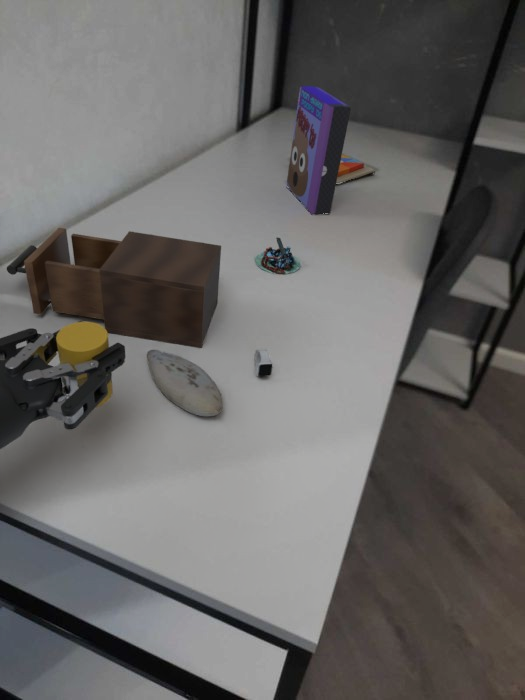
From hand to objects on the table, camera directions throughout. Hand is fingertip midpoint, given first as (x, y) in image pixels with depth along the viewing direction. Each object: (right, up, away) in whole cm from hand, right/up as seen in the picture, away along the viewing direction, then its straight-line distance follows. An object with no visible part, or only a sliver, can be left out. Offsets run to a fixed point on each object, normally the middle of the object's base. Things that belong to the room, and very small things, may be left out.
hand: (103, 339), depth 56 cm
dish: (+20, +16, +46) cm, 53 cm away
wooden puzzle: (+37, +50, +93) cm, 112 cm away
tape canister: (-2, -6, +2) cm, 7 cm away
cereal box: (+28, +36, +74) cm, 87 cm away
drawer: (-12, +7, +27) cm, 31 cm away
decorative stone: (+6, -7, +15) cm, 17 cm away
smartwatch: (+17, -5, +19) cm, 26 cm away
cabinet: (+1, +4, +28) cm, 28 cm away
